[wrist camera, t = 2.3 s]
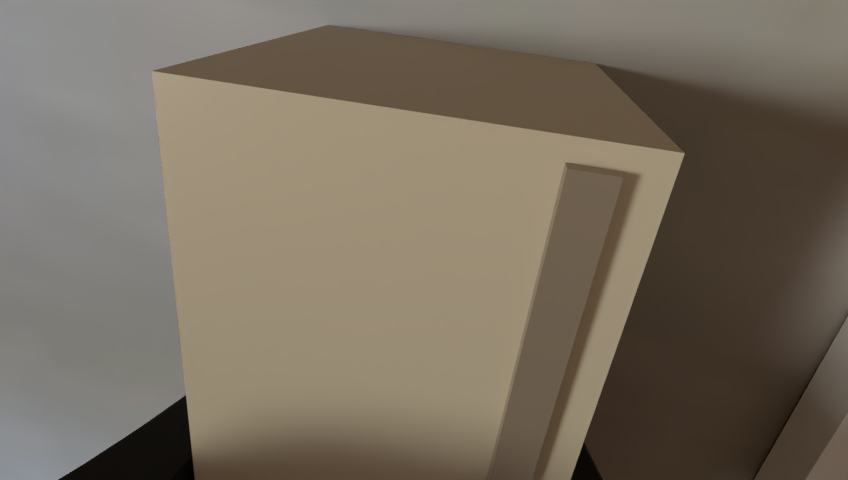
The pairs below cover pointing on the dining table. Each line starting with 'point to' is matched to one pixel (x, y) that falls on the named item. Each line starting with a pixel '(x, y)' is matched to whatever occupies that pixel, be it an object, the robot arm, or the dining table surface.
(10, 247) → the dining table surface
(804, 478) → the display stand
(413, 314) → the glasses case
